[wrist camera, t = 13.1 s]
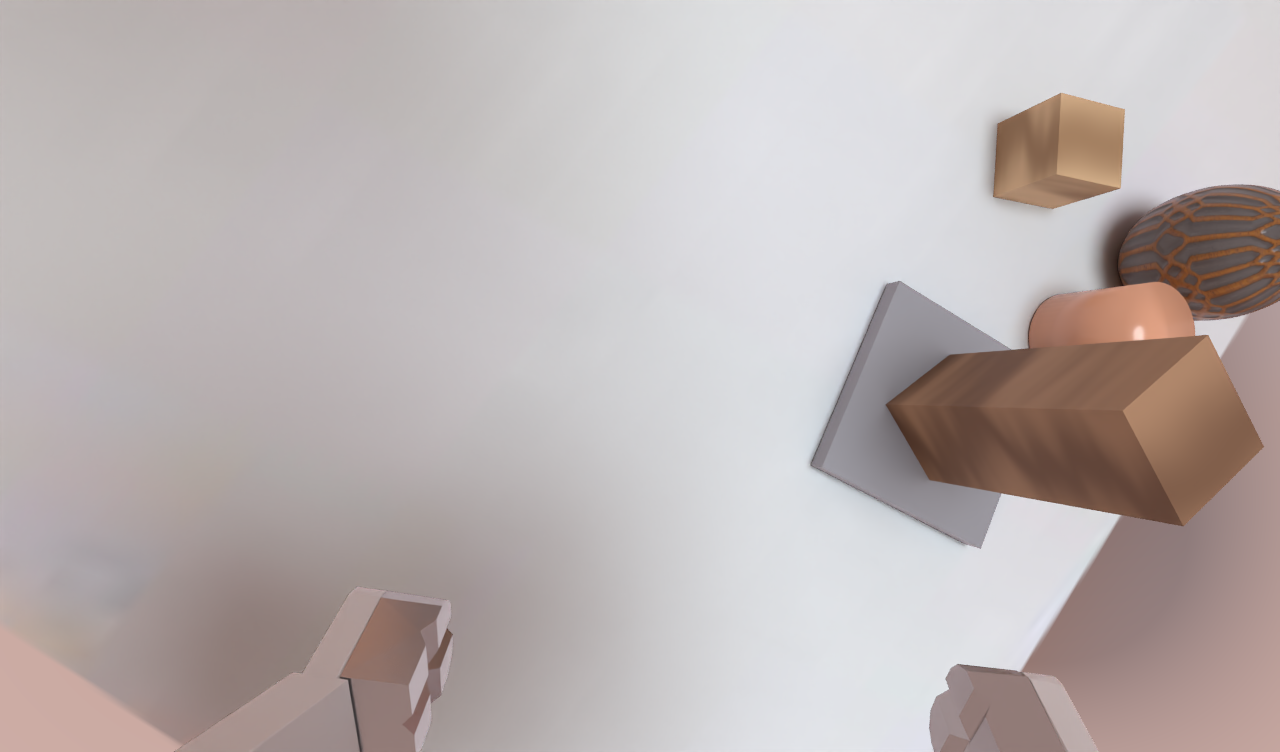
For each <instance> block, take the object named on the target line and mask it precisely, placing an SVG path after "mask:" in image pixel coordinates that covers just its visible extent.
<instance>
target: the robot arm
mask: <svg viewBox="0 0 1280 752" xmlns="http://www.w3.org/2000/svg"><path fill="white" fill-rule="evenodd" d="M451 616H452V614H451V604H450V601H448V600H444V599H437V598H431V597H424V596H418V595H411V594H405V593H398V592H392V591H384V590H377V589H370V588H363V587H356V588H355V589H354V590H353V591H352V592H350V593H349V594H348V596H347V597H346V599H345V601H344V602H343V604H342V606H341V608H340V609H339V611H338V613H337V614H336V616H335V618H334V620H333V621H332V623H331V625H330V626H329V628H328V630H327V632H326V633H325V635H324V637H323V638H322V640H321V642H320V643H319V645H318V647H317V649H316V650H315V652H314V654H313V655H312V657H311V659H310V661H309V662H308V664H307V666H306V667H305V669H304V671H303V673H293V672H292V673H291V674H289V675H288V676H286V677H285V678H283V679H282V680H281V681H279V682H278V683H276V684H275V685H273V686H272V687H270V688H269V689H267V690H266V691H264V692H263V693H261V694H260V695H258V696H257V697H255V698H254V699H252V700H251V701H249V702H248V703H246V704H245V705H243V706H242V707H240V708H239V709H237V710H236V711H234V712H233V713H231V714H230V715H228V716H227V717H225V718H224V719H222V720H221V721H219V722H218V723H216V724H215V725H213V726H212V727H210V728H209V729H207V730H206V731H204V732H203V733H201V734H200V735H198V736H197V737H195V738H194V739H192V740H191V741H189V742H188V743H186V744H185V745H183V746H182V747H180V748H179V749H177V750H176V751H174V752H421V749H422V746H423V744H424V741H425V738H426V735H427V733H428V730H429V727H430V725H431V722H432V715H431V703H432V702H433V701H434V700H435V699H437V698H438V697H439V696H440V695H441V694H442V692H443V689H444V686H445V683H446V680H447V677H448V672H449V668H450V664H451V659H452V650H453V634H452V633H451V632H450V631H449V630H448V629H447V626H448V623H449V621H450V618H451ZM945 679H946V681H947V684H948V687H949V690H947V691H945V692H944V693H942V694H940V695H938V696H936V699H935V701H934V703H933V706H932V708H931V710H930V724H929V729H930V736H931V743H932V746H933V749H934V752H1099V751H1098V749H1097V747H1096V745H1095V743H1094V742H1093V740H1092V738H1091V736H1090V734H1089V732H1088V731H1087V729H1086V727H1085V725H1084V723H1083V721H1082V720H1081V718H1080V716H1079V714H1078V712H1077V711H1076V709H1075V707H1074V705H1073V703H1072V701H1071V699H1070V698H1069V696H1068V694H1067V692H1066V690H1065V689H1064V687H1063V685H1062V684H1061V682H1060V681H1059V680H1057V678H1056V677H1054V676H1049V675H1041V674H1033V673H1025V672H1018V671H1014V670H1005V669H997V668H988V667H979V666H970V665H961V664H957V665H955V666H954V667H952V668H951V669H950V671H949V673H948V675H947V676H946V678H945Z"/></svg>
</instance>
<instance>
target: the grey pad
mask: <svg viewBox="0 0 1280 752" xmlns="http://www.w3.org/2000/svg"><path fill="white" fill-rule="evenodd" d="M1004 350H1011V349H1010V348H1008V347H1006V346H1005V345H1003V344H1002V343H1000V342H998V341H997V340H995V339H993V338H992V337H990V336H988V335H987V334H985V333H984V332H982V331H980V330H979V329H977V328H975V327H974V326H972V325H971V324H969V323H967V322H966V321H964V320H962V319H961V318H959V317H958V316H956V315H954V314H953V313H951V312H949V311H948V310H946V309H945V308H943V307H941V306H940V305H938V304H936V303H935V302H933V301H931V300H930V299H928V298H927V297H925V296H923V295H922V294H920V293H918V292H917V291H915V290H914V289H912V288H910V287H909V286H907V285H905V284H904V283H902V282H901V281H898V282H893V283H889V284H887V285H886V288H885V290H884V292H883V295H882V297H881V300H880V302H879V304H878V307H877V309H876V311H875V314H874V316H873V319H872V321H871V323H870V326H869V328H868V330H867V333H866V335H865V338H864V340H863V342H862V345H861V347H860V350H859V352H858V354H857V357H856V359H855V361H854V364H853V366H852V369H851V371H850V373H849V376H848V378H847V380H846V383H845V385H844V388H843V390H842V392H841V395H840V397H839V400H838V402H837V404H836V407H835V409H834V411H833V414H832V416H831V419H830V421H829V423H828V426H827V428H826V430H825V433H824V435H823V438H822V440H821V442H820V445H819V447H818V450H817V452H816V454H815V457H814V459H813V461H812V464H811V465H812V466H814V467H816V468H818V469H820V470H822V471H824V472H826V473H828V474H829V475H831V476H833V477H835V478H837V479H839V480H841V481H843V482H845V483H847V484H849V485H851V486H853V487H855V488H857V489H859V490H861V491H863V492H865V493H867V494H869V495H871V496H873V497H874V498H876V499H878V500H880V501H882V502H884V503H886V504H888V505H890V506H892V507H894V508H896V509H898V510H900V511H902V512H904V513H906V514H908V515H910V516H912V517H914V518H916V519H918V520H919V521H921V522H923V523H925V524H927V525H929V526H931V527H933V528H935V529H937V530H939V531H941V532H943V533H945V534H947V535H949V536H951V537H953V538H955V539H957V540H959V541H961V542H963V543H964V544H967V545H970V546H974V547H977V548H980V549H981V546H982V544H983V541H984V538H985V536H986V533H987V530H988V528H989V525H990V522H991V520H992V517H993V514H994V512H995V509H996V506H997V504H998V501H999V498H1000V496H1001V493H997V492H992V491H986V490H981V489H975V488H970V487H964V486H959V485H953V484H948V483H942V482H937V481H931V480H929V478H928V477H927V475H926V473H925V472H924V470H923V468H922V466H921V465H920V463H919V461H918V459H917V458H916V456H915V454H914V453H913V451H912V449H911V447H910V446H909V444H908V442H907V441H906V439H905V437H904V435H903V434H902V432H901V430H900V428H899V427H898V425H897V423H896V422H895V420H894V418H893V416H892V415H891V413H890V411H889V410H888V408H887V406H886V404H887V403H888V402H889V401H891V400H892V399H893V398H895V397H896V396H897V395H898V394H900V393H901V392H902V391H904V390H905V389H906V388H907V387H909V386H910V385H911V384H913V383H914V382H915V381H916V380H918V379H919V378H920V377H922V376H923V375H924V374H925V373H927V372H928V371H929V370H931V369H932V368H933V367H934V366H936V365H937V364H938V363H940V362H941V361H942V360H943V359H945V358H946V357H947V356H949V355H951V354H964V353H978V352H991V351H1004Z"/></svg>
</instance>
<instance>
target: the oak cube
mask: <svg viewBox="0 0 1280 752" xmlns="http://www.w3.org/2000/svg"><path fill="white" fill-rule="evenodd" d="M1124 114H1125V109H1121V108H1117V107H1113V106H1110V105H1106V104H1102V103H1098V102H1094V101H1090V100H1087V99H1083V98H1079V97H1075V96H1071V95H1067V94H1064V93H1060V94H1058V95H1056V96H1054V97H1052V98H1050V99H1048V100H1046V101H1044V102H1042V103H1039V104H1037V105H1035V106H1033V107H1031V108H1029V109H1027V110H1025V111H1023V112H1021V113H1019V114H1017V115H1015V116H1013V117H1011V118H1009V119H1007V120H1005V121H1002V122H1000V123H998V128H997V145H996V162H995V178H994V195H993V197H997V198H1002V199H1007V200H1012V201H1016V202H1021V203H1026V204H1031V205H1036V206H1041V207H1046V208H1051V209H1054V208H1057V207H1060V206H1064V205H1067V204H1070V203H1074V202H1077V201H1080V200H1084V199H1087V198H1090V197H1094V196H1097V195H1100V194H1104V193H1107V192H1110V191H1113V190H1117V189H1120V188H1121V171H1122V152H1123V133H1124Z"/></svg>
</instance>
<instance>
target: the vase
mask: <svg viewBox="0 0 1280 752" xmlns="http://www.w3.org/2000/svg"><path fill="white" fill-rule="evenodd" d="M1118 270H1119V275H1120V278H1121V281H1122V283H1123V285H1124V286H1127V285H1135V284H1142V283H1150V282H1162V283H1165V284H1168V285H1170V286H1172V287H1173V288H1175V289H1176V290H1177V291H1178V292H1179V293H1180V294H1181V295H1182V296H1183V297H1184V299H1185V300H1186V302H1187V304H1188V306H1189V308H1190V310H1191V313H1192V316H1193V320H1194V321H1203V320H1219V319H1227V318H1233V317H1238V316H1242V315H1245V314H1249V313H1252V312H1254V311H1257V310H1260V309H1263V308H1265V307H1268V306H1270V305H1272V304H1274V303H1276V302H1278V301H1280V191H1278V190H1275V189H1272V188H1268V187H1263V186H1256V185H1221V186H1214V187H1208V188H1204V189H1199V190H1196V191H1192V192H1189V193H1186V194H1183V195H1180V196H1177V197H1175V198H1172V199H1170V200H1168V201H1166V202H1164V203H1162V204H1161V205H1159V206H1157V207H1156V208H1154V209H1152V210H1151V211H1149V212H1148V213H1147V214H1146V215H1144V216H1143V217H1142V218H1141V219H1139V220H1138V221H1137V223H1136V224H1135V225H1134V226H1133V227H1132V229H1131V230H1130V231H1129V233H1128V234H1127V236H1126V238H1125V240H1124V242H1123V244H1122V247H1121V249H1120V253H1119V258H1118Z"/></svg>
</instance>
